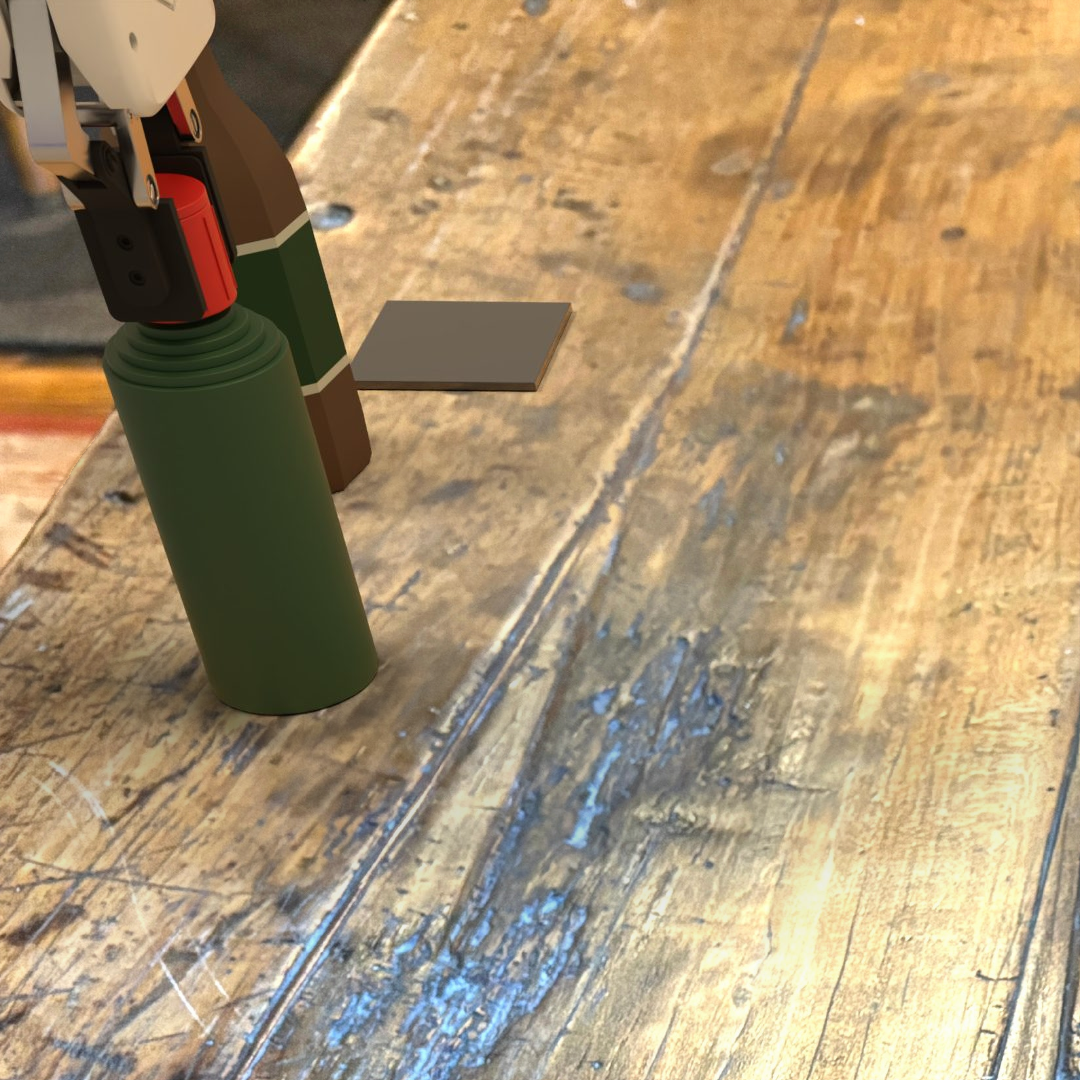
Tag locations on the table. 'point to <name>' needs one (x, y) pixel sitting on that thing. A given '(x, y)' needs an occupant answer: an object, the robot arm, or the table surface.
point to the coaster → (460, 345)
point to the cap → (201, 239)
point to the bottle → (243, 509)
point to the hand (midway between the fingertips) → (176, 285)
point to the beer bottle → (280, 264)
